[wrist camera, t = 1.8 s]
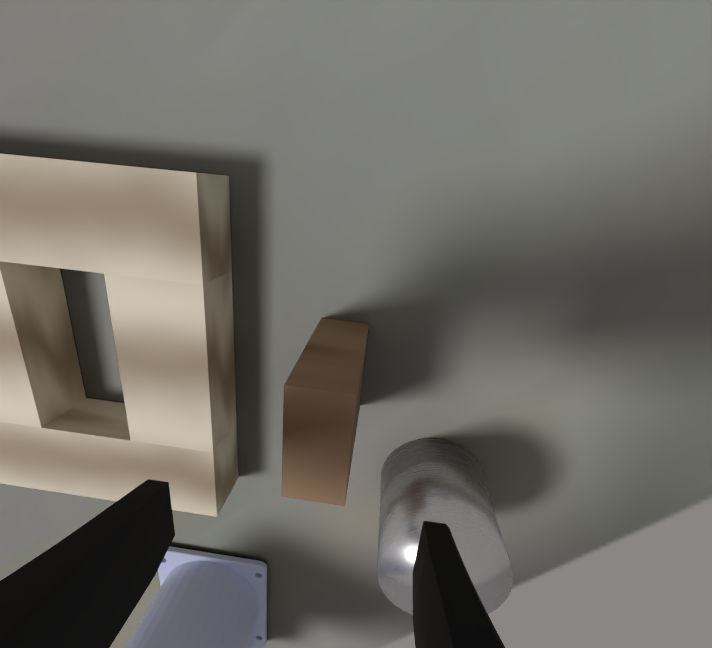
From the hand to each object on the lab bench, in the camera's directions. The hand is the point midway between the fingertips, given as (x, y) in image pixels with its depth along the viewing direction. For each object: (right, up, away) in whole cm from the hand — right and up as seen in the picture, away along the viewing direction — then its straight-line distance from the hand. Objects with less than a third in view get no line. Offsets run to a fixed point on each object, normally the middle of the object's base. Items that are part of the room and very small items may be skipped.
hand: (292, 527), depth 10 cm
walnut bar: (+1, +4, +10) cm, 10 cm away
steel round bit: (+6, -4, +12) cm, 14 cm away
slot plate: (-12, +5, +10) cm, 17 cm away
